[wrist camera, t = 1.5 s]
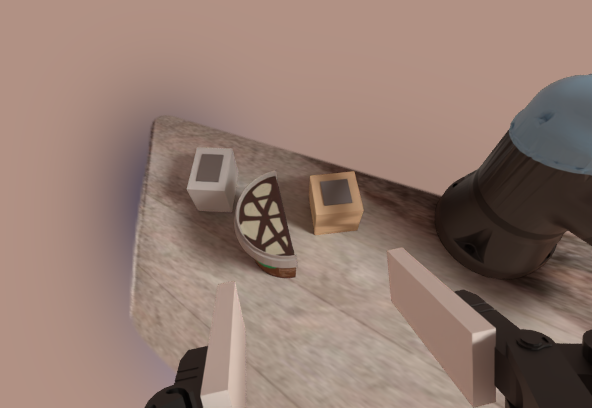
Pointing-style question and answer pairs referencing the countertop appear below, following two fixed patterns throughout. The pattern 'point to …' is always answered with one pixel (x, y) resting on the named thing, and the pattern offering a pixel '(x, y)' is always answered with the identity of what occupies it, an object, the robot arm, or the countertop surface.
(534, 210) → the robot arm
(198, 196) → the grey painted block
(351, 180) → the oak block
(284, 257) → the food container
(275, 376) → the countertop surface
